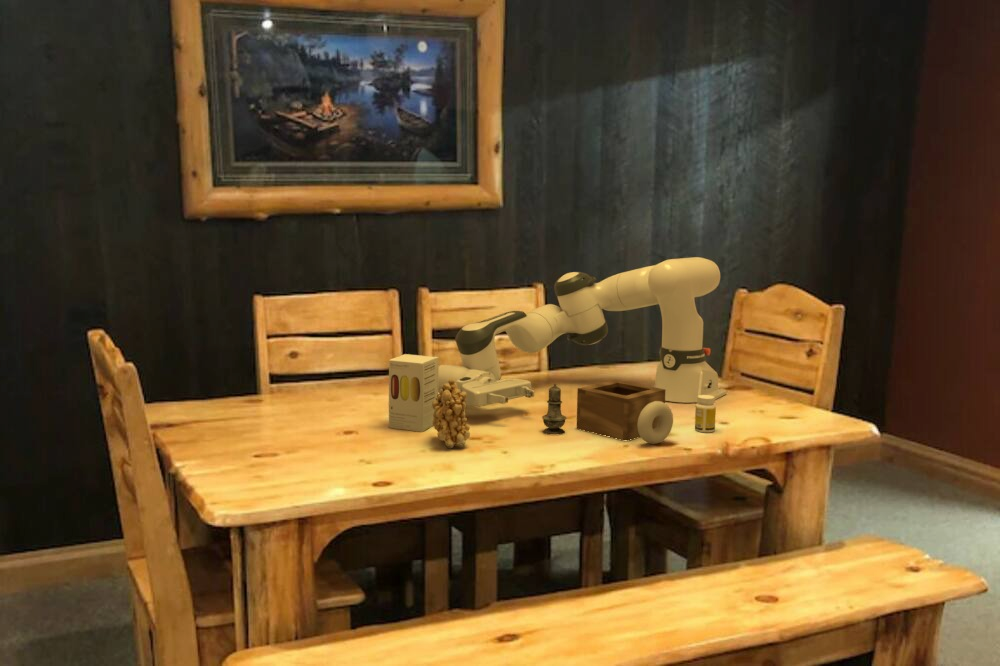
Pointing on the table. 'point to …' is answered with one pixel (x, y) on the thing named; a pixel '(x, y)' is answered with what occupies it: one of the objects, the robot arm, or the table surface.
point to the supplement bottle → (705, 414)
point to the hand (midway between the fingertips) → (519, 397)
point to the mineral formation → (451, 415)
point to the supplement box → (412, 391)
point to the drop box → (615, 408)
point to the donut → (647, 419)
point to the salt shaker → (554, 412)
